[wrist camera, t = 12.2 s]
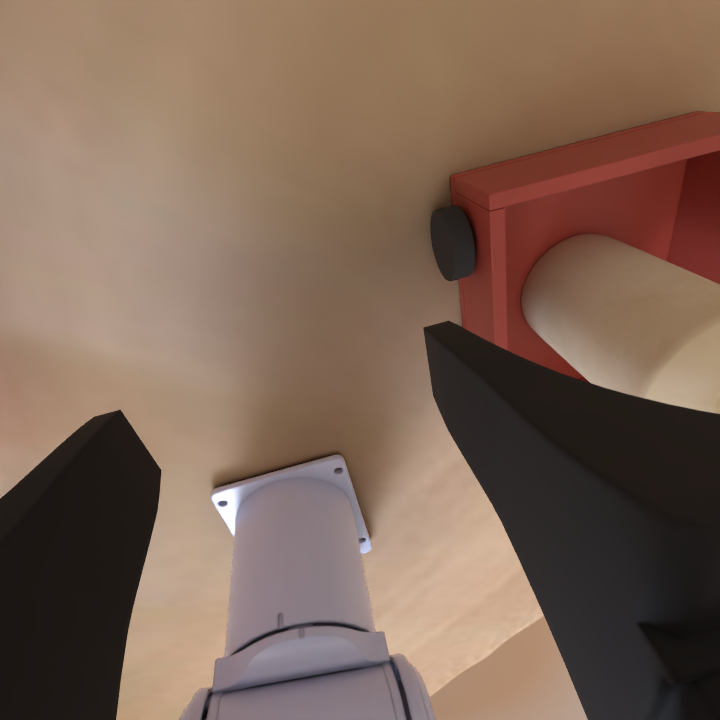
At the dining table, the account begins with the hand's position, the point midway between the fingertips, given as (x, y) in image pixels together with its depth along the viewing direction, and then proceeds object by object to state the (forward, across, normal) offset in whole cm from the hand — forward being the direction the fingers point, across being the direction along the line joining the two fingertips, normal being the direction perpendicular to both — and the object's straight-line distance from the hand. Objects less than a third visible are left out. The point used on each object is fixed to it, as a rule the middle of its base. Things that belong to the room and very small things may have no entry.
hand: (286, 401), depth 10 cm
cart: (+10, -14, +5) cm, 18 cm away
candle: (+10, -14, +5) cm, 18 cm away
